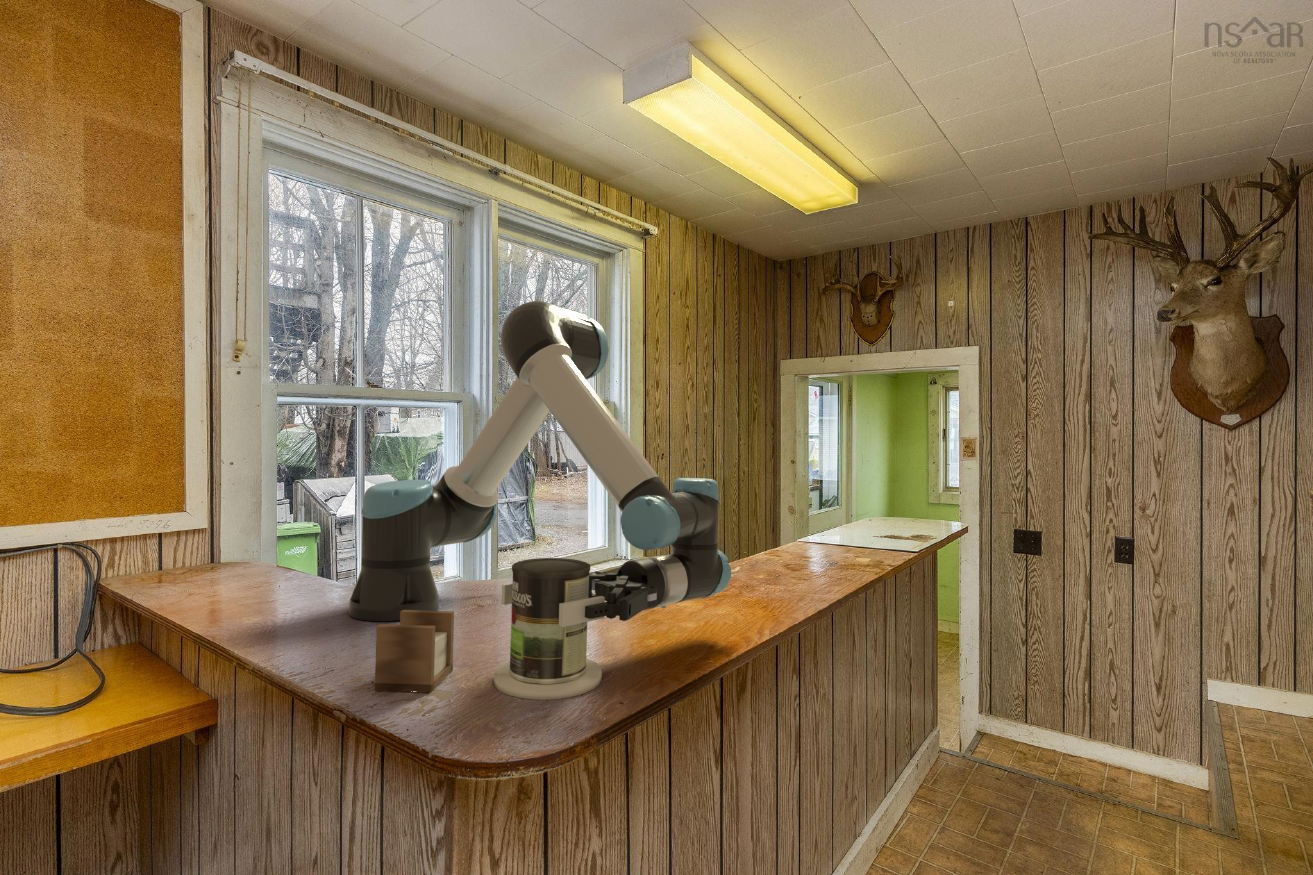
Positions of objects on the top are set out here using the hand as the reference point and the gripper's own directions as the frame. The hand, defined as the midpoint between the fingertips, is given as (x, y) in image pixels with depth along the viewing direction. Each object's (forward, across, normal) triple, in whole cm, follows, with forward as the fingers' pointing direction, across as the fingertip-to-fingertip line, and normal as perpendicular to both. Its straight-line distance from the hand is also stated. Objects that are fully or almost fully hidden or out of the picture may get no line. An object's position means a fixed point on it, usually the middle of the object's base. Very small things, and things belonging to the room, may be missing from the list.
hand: (529, 604), depth 84 cm
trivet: (-3, 0, -10) cm, 11 cm away
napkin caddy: (+10, +11, -10) cm, 18 cm away
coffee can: (-3, 0, -10) cm, 10 cm away
